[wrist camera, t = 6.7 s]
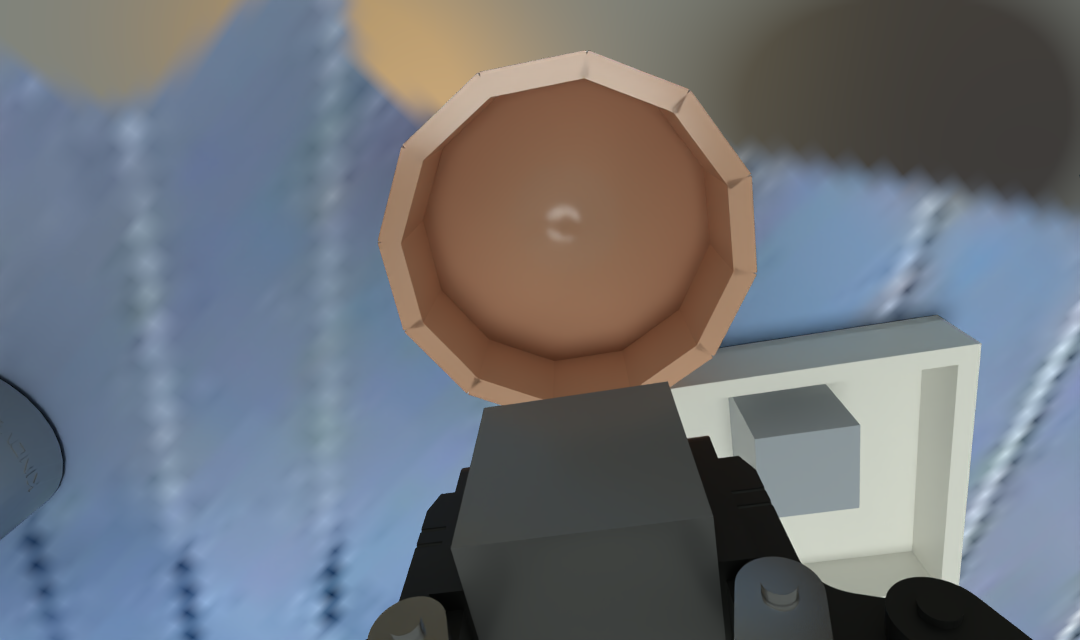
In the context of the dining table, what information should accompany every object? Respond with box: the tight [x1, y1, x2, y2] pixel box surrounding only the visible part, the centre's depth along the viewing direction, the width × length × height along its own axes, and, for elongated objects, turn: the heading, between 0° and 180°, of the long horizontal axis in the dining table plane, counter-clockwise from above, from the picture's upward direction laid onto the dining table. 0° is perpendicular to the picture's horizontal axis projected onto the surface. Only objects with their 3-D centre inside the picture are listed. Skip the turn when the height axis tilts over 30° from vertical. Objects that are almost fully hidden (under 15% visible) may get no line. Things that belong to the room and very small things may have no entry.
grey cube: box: [728, 384, 860, 518], centre depth 26 cm, size 4×4×4 cm
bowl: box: [378, 50, 757, 405], centre depth 23 cm, size 13×13×4 cm
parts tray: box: [670, 315, 981, 598], centre depth 28 cm, size 15×14×3 cm
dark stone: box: [451, 381, 726, 640], centre depth 12 cm, size 4×4×4 cm
